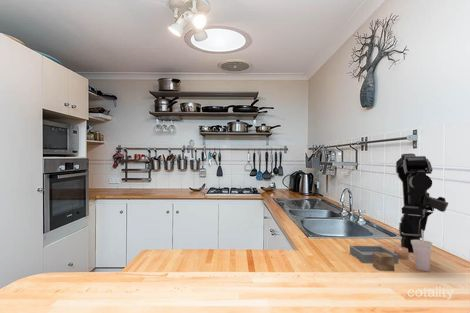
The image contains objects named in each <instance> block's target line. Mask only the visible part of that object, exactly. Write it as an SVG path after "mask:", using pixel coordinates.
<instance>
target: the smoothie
mask: <svg viewBox="0 0 470 313" xmlns="http://www.w3.org/2000/svg"><path fill="white" fill-rule="evenodd" d="M421 234H422V238H421V239H420V240H411V244H412V247H413V252H412V253H413V256H414V260H415V261H414V262H415V266H416V269H418V270H419V271H425V272H428V271H429V272H430V270H431V269H430V268H431V257H432V256H431V254H432V247H433V242H432V241H428V240H425V236H423V230H421Z"/></svg>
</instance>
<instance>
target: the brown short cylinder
mask: <svg viewBox="0 0 470 313" xmlns="http://www.w3.org/2000/svg"><path fill="white" fill-rule="evenodd" d="M393 253H395V254H397V255H398V259H399V260H402V261H403V260H404V261H405V260H406V261H407V260H409V258H410V257H409V252H408V248H405V247H401V245H400V246H399V245H398V246H393Z"/></svg>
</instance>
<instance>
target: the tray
mask: <svg viewBox="0 0 470 313" xmlns="http://www.w3.org/2000/svg"><path fill="white" fill-rule="evenodd" d="M372 253H387V254H389V255H391V256H393V257H394V265H395V264H397V265H398V264H400V262H399V261H400V259H398V255H397V254H395V253H394V251H392V250H389V249H387V248H385V247H383V246H381V245H349V254H351V255H353V257H354V258H356V259H357V260H359V261H360V262H362V263H363V264H373V256H372Z"/></svg>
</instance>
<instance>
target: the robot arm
mask: <svg viewBox="0 0 470 313" xmlns="http://www.w3.org/2000/svg"><path fill="white" fill-rule="evenodd" d="M395 163H396V164H395V173H396V174H397V178H398V179H399V180H400V181H401V183H402V197H403V198H402V199H403V206H402V208H401V214H402V216H401V217H400V222H399V225H398V234H399V236H400V237H401V238H400V247H405V248H408V253H414V252H413V247H412V244H411V240H421V239H422V234H421V230H423V236H424V235H425V234H424V232H425V231H426V228H427V227H426V226H427V223H428V218H429V216H431V215H432V214H433V213H434V212H435V210H437V211H439V212H441V213H444V212H446V211H447V208H448V206H449V202H447V201H446V198H445V197H442V196H439V197H437V198H436V197H432V196H430V193H429V192H428V190H430V189H431V188H432V186H433V180H432V178H431V177H430V176H429V174H430V175H432V172H433V167H432V164H431V162H430V160H429V159H428V158H427V157H426V156H425V155H424V156H423V155H420V156H419V155H416V153H403V154H401V155H400V158H399V159H398V160H396V162H395ZM424 237H425V236H424Z"/></svg>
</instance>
